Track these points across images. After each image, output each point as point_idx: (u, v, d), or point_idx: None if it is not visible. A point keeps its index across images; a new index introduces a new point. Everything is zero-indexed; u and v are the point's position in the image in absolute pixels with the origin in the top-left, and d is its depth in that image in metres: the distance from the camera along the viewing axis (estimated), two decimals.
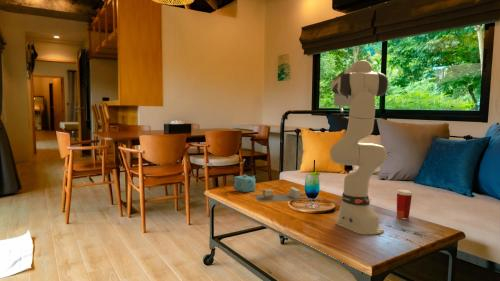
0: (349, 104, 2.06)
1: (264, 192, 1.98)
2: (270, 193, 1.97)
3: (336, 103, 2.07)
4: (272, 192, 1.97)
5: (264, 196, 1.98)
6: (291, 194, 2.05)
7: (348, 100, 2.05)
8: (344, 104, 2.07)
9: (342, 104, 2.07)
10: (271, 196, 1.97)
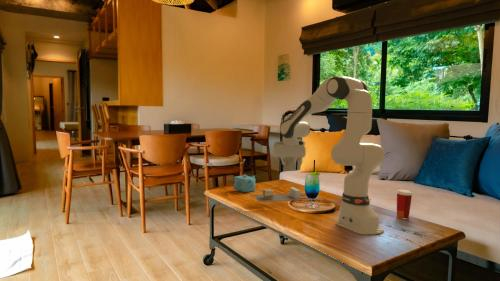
0: (289, 154, 1.99)
1: (264, 192, 1.98)
2: (270, 193, 1.97)
3: (277, 154, 1.97)
4: (272, 192, 1.97)
5: (264, 196, 1.98)
6: (291, 194, 2.05)
7: (288, 150, 1.99)
8: (284, 154, 1.98)
9: (282, 154, 1.98)
10: (271, 196, 1.97)
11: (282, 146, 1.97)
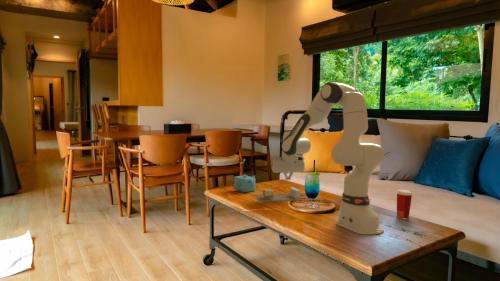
0: (288, 170, 2.00)
1: (264, 192, 1.98)
2: (270, 193, 1.97)
3: (276, 169, 1.98)
4: (272, 192, 1.97)
5: (264, 196, 1.98)
6: (291, 194, 2.05)
7: (287, 165, 2.00)
8: (283, 170, 1.99)
9: (282, 170, 1.99)
10: (271, 196, 1.97)
11: (281, 162, 1.98)
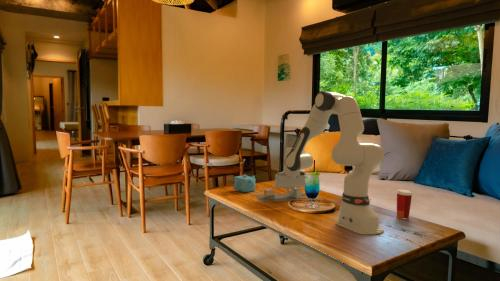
0: (290, 185, 2.01)
1: (265, 192, 1.98)
2: (271, 193, 1.97)
3: (278, 184, 1.98)
4: (273, 192, 1.97)
5: (265, 196, 1.98)
6: None
7: (289, 180, 2.00)
8: (286, 185, 2.00)
9: (284, 185, 2.00)
10: (272, 196, 1.97)
11: (283, 177, 1.99)
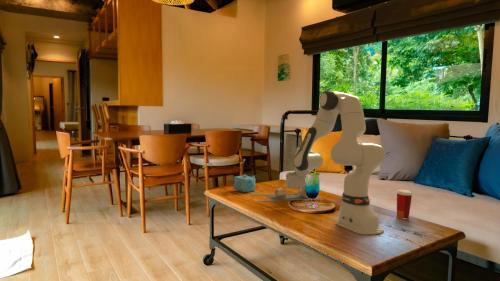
0: (301, 184, 2.03)
1: (277, 192, 2.00)
2: (282, 193, 1.99)
3: (289, 184, 2.00)
4: (284, 192, 1.99)
5: (277, 195, 2.00)
6: (303, 194, 2.08)
7: (300, 180, 2.03)
8: (297, 185, 2.02)
9: (295, 185, 2.02)
10: (283, 196, 1.99)
11: (294, 177, 2.01)
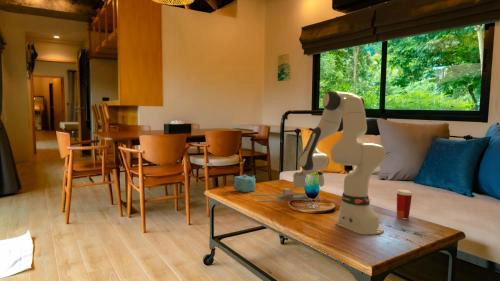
0: None
1: (284, 191, 2.02)
2: (290, 192, 2.00)
3: (297, 184, 2.02)
4: (292, 191, 2.01)
5: (284, 195, 2.01)
6: None
7: None
8: (304, 185, 2.03)
9: (302, 185, 2.03)
10: (291, 195, 2.01)
11: (302, 176, 2.03)
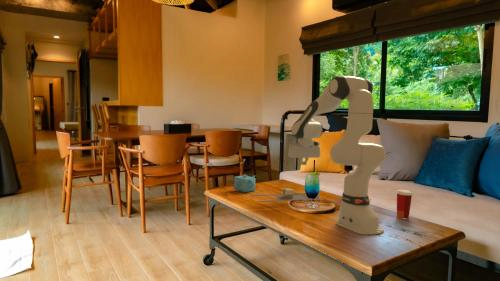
0: (304, 155, 2.02)
1: (284, 191, 2.02)
2: (290, 192, 2.00)
3: (292, 154, 1.99)
4: (292, 191, 2.01)
5: (284, 195, 2.01)
6: None
7: (303, 150, 2.02)
8: (299, 155, 2.01)
9: (298, 155, 2.01)
10: (291, 195, 2.01)
11: (297, 147, 2.00)
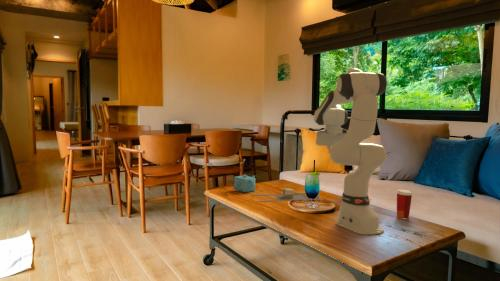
0: (332, 143, 1.97)
1: (284, 191, 2.02)
2: (290, 192, 2.00)
3: (320, 142, 1.94)
4: (292, 191, 2.01)
5: (284, 195, 2.01)
6: None
7: (331, 138, 1.96)
8: (328, 143, 1.96)
9: (326, 143, 1.95)
10: (291, 195, 2.01)
11: (326, 134, 1.95)
